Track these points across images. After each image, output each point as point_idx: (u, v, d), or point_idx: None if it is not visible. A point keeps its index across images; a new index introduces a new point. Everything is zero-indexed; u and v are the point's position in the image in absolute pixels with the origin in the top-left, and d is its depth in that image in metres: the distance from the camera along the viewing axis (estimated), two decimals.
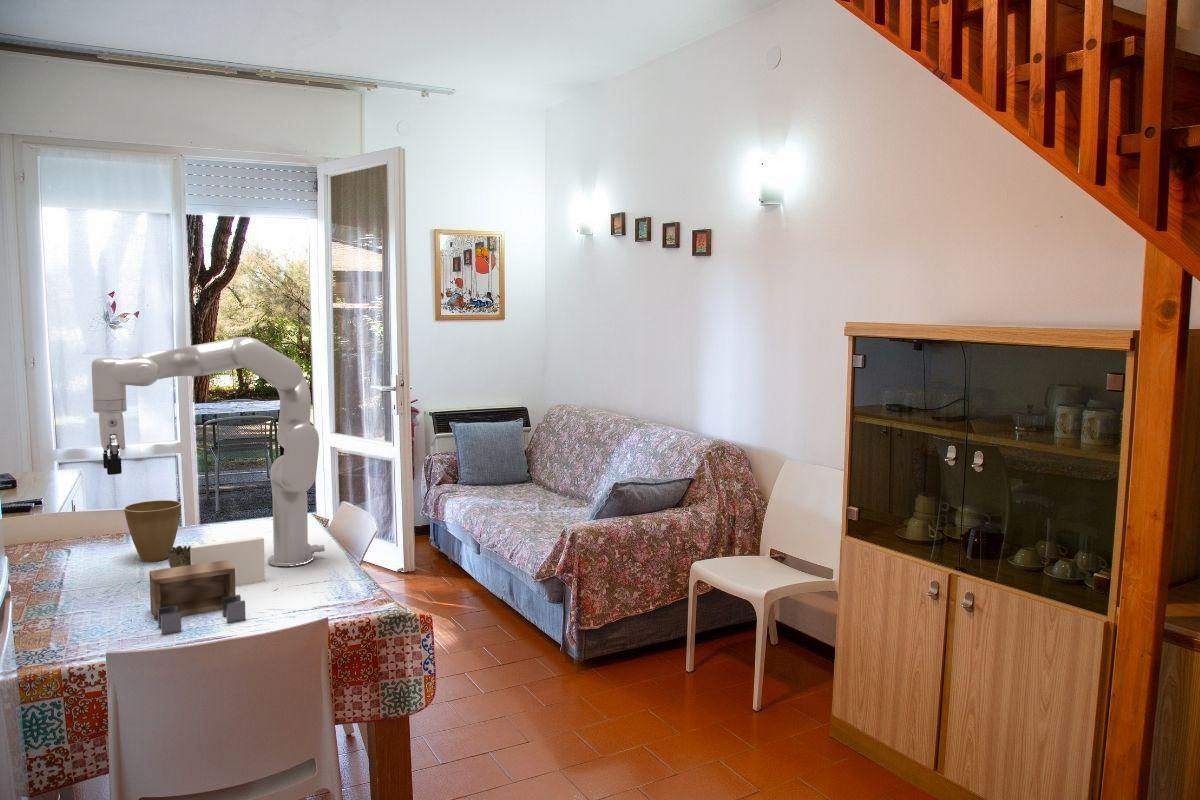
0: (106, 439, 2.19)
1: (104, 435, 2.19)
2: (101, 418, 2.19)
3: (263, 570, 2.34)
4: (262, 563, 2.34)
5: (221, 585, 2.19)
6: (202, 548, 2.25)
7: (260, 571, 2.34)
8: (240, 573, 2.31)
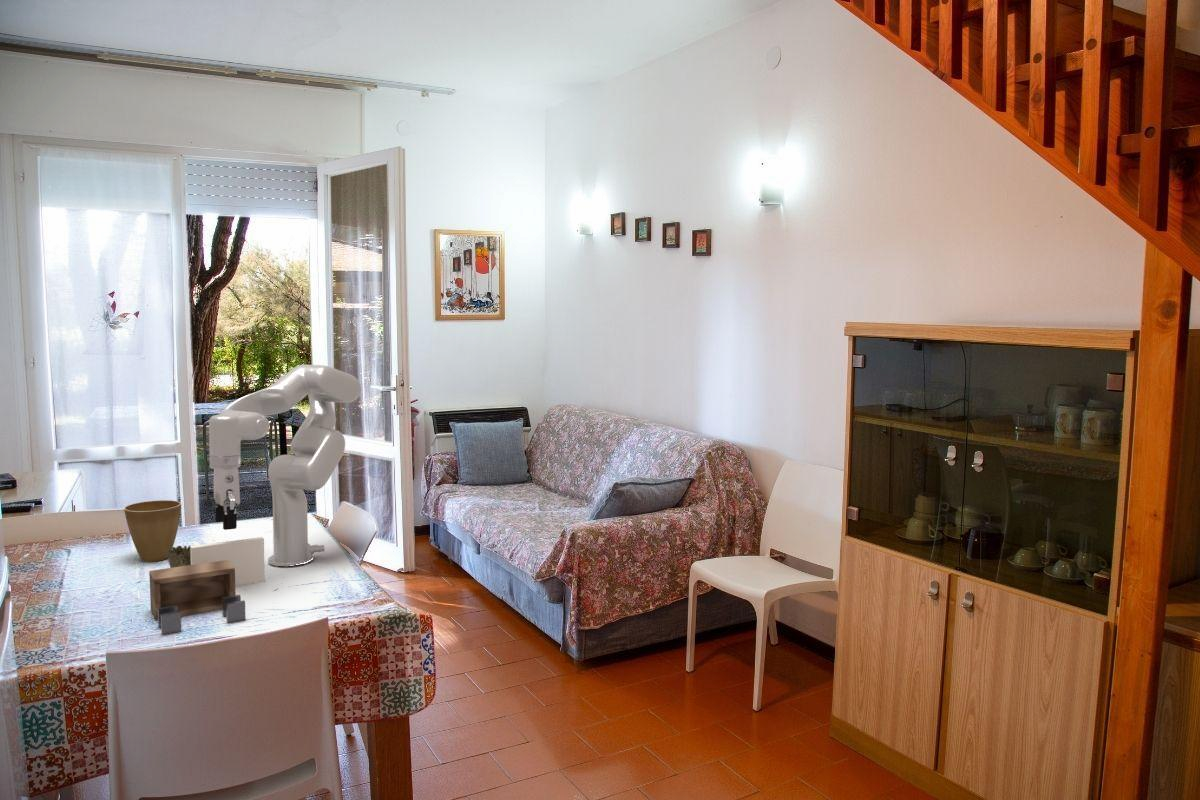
0: (223, 495, 2.23)
1: (221, 491, 2.23)
2: (218, 474, 2.23)
3: (263, 570, 2.34)
4: (262, 563, 2.34)
5: (221, 585, 2.19)
6: (202, 548, 2.25)
7: (260, 571, 2.34)
8: (240, 573, 2.31)
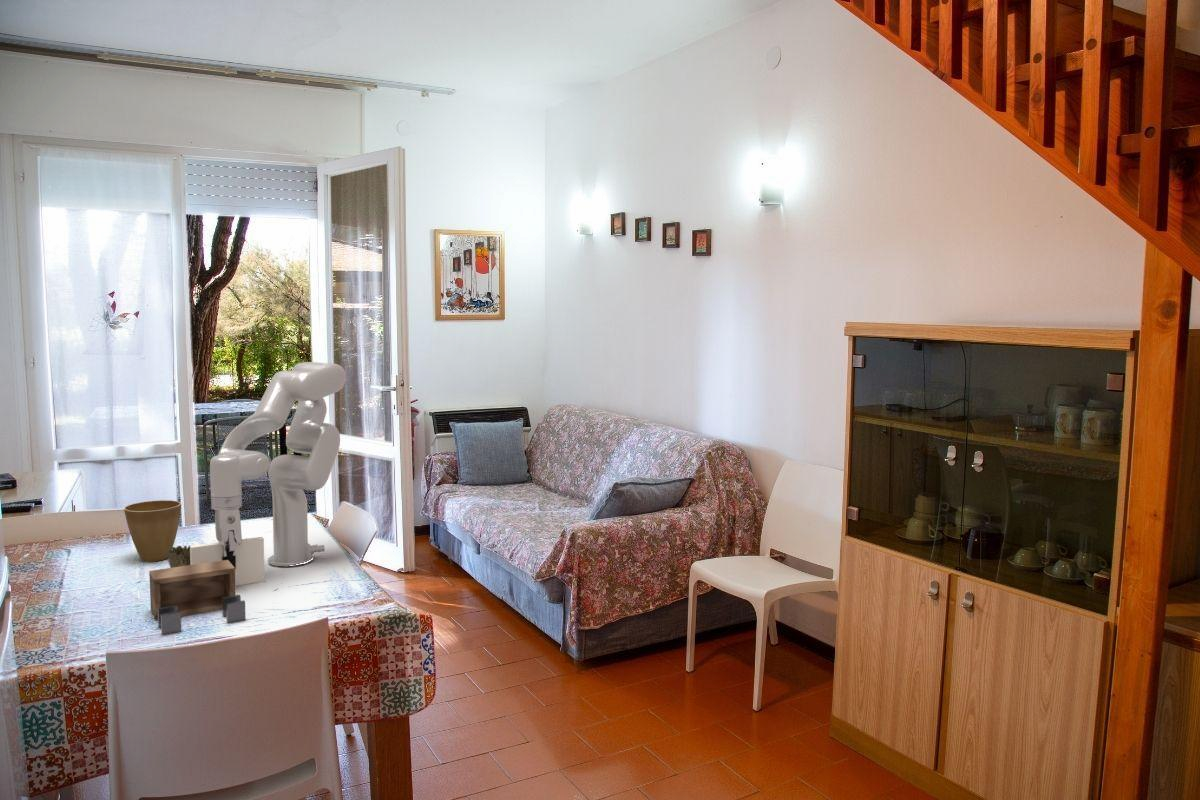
0: (225, 536, 2.24)
1: (223, 532, 2.24)
2: (220, 515, 2.25)
3: (263, 570, 2.34)
4: (262, 563, 2.34)
5: (221, 585, 2.19)
6: (202, 548, 2.25)
7: (260, 571, 2.34)
8: (239, 573, 2.31)
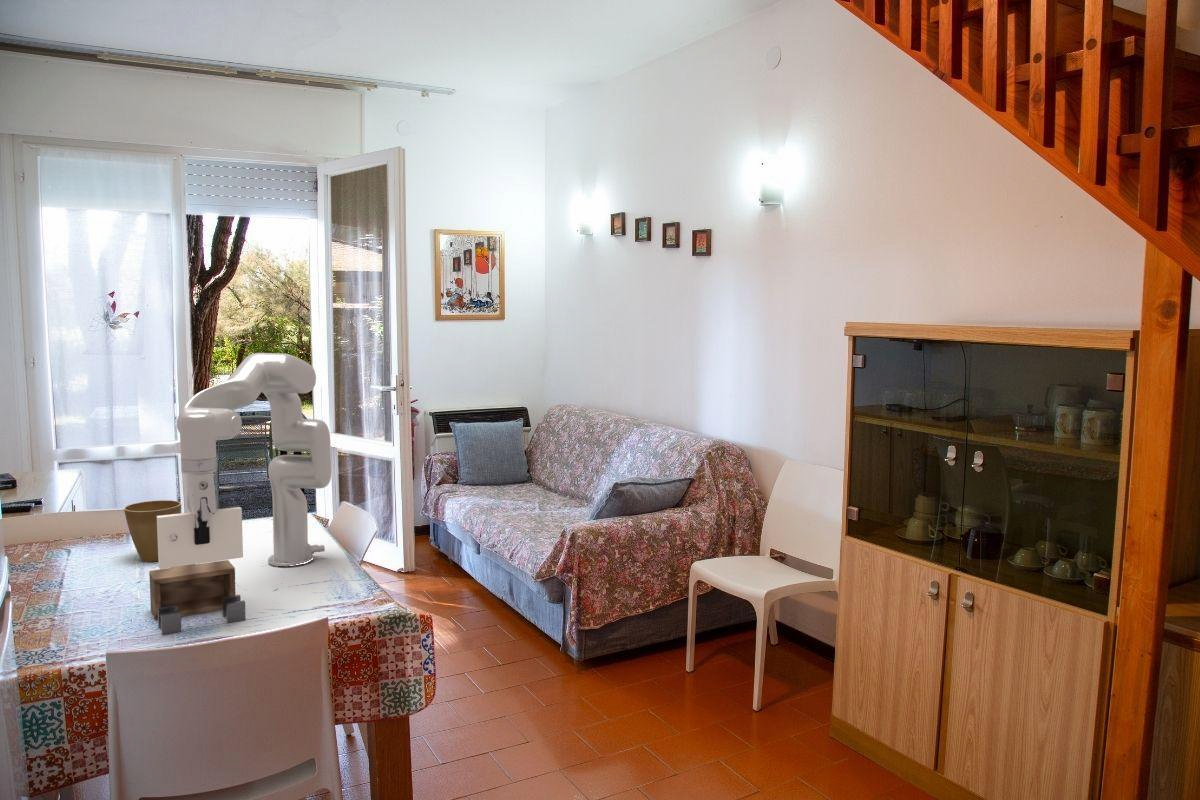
0: (196, 503, 1.97)
1: (194, 499, 1.96)
2: (191, 480, 1.97)
3: (241, 544, 2.07)
4: (240, 536, 2.06)
5: (221, 585, 2.19)
6: (170, 518, 1.97)
7: (237, 545, 2.06)
8: (214, 547, 2.03)
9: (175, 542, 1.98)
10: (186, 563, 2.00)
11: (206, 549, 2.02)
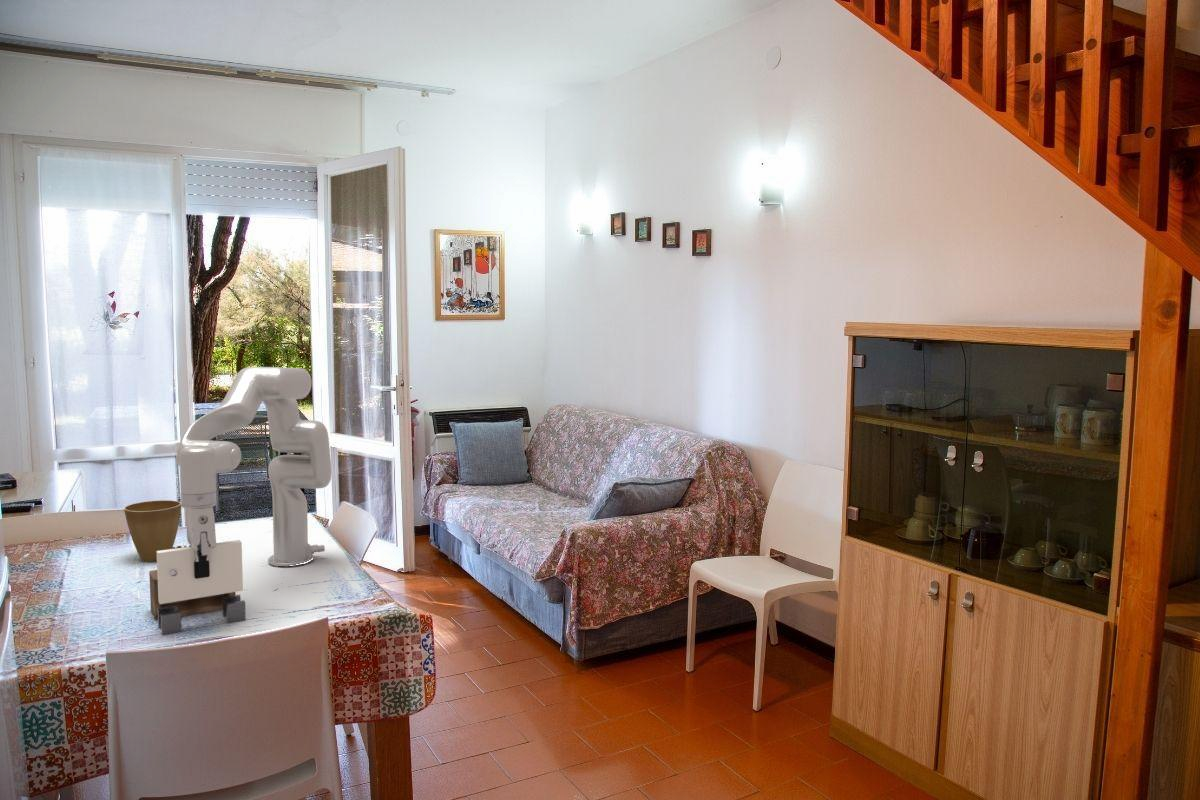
0: (196, 538, 1.96)
1: (194, 533, 1.96)
2: (190, 514, 1.97)
3: (241, 577, 2.07)
4: (240, 570, 2.06)
5: None
6: (170, 553, 1.97)
7: (237, 579, 2.06)
8: (214, 581, 2.03)
9: (175, 577, 1.98)
10: (186, 598, 2.00)
11: (206, 583, 2.02)
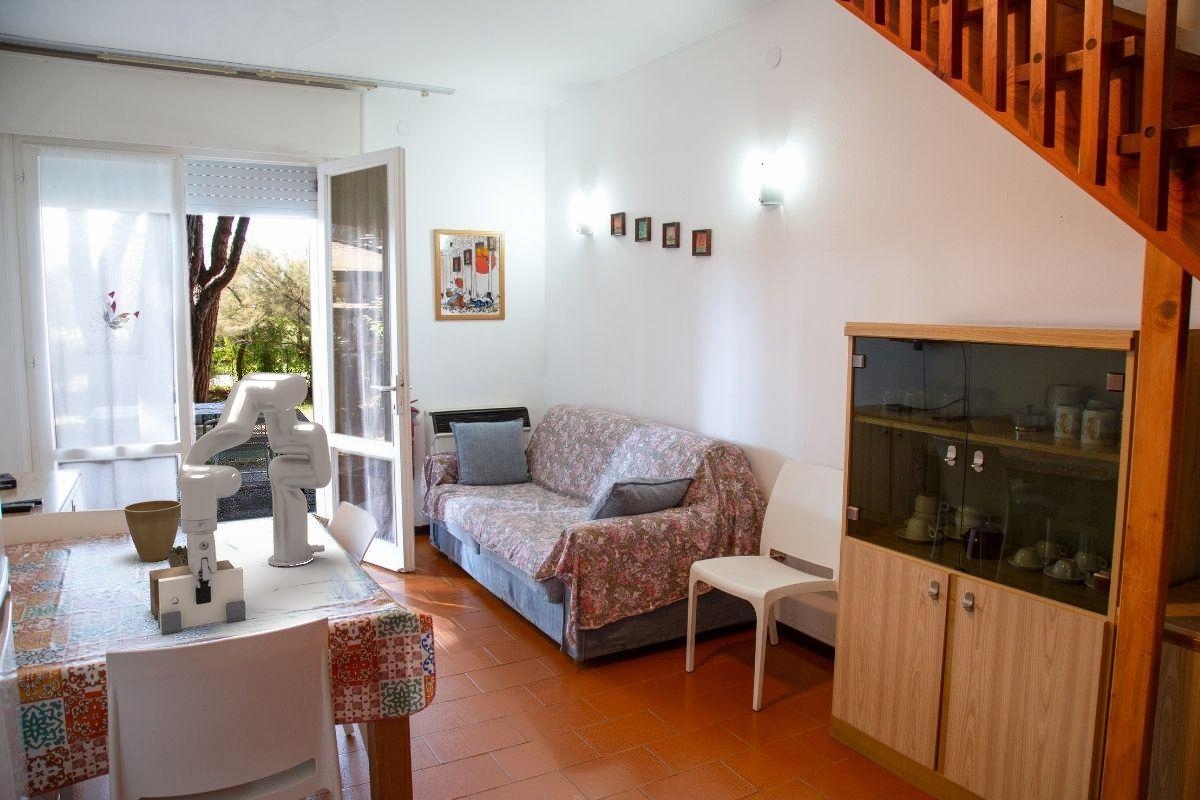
0: (197, 564, 1.97)
1: (195, 559, 1.97)
2: (191, 540, 1.98)
3: None
4: (241, 597, 2.07)
5: None
6: (172, 581, 1.98)
7: None
8: (215, 608, 2.04)
9: (177, 605, 1.99)
10: (187, 625, 2.01)
11: (208, 610, 2.03)
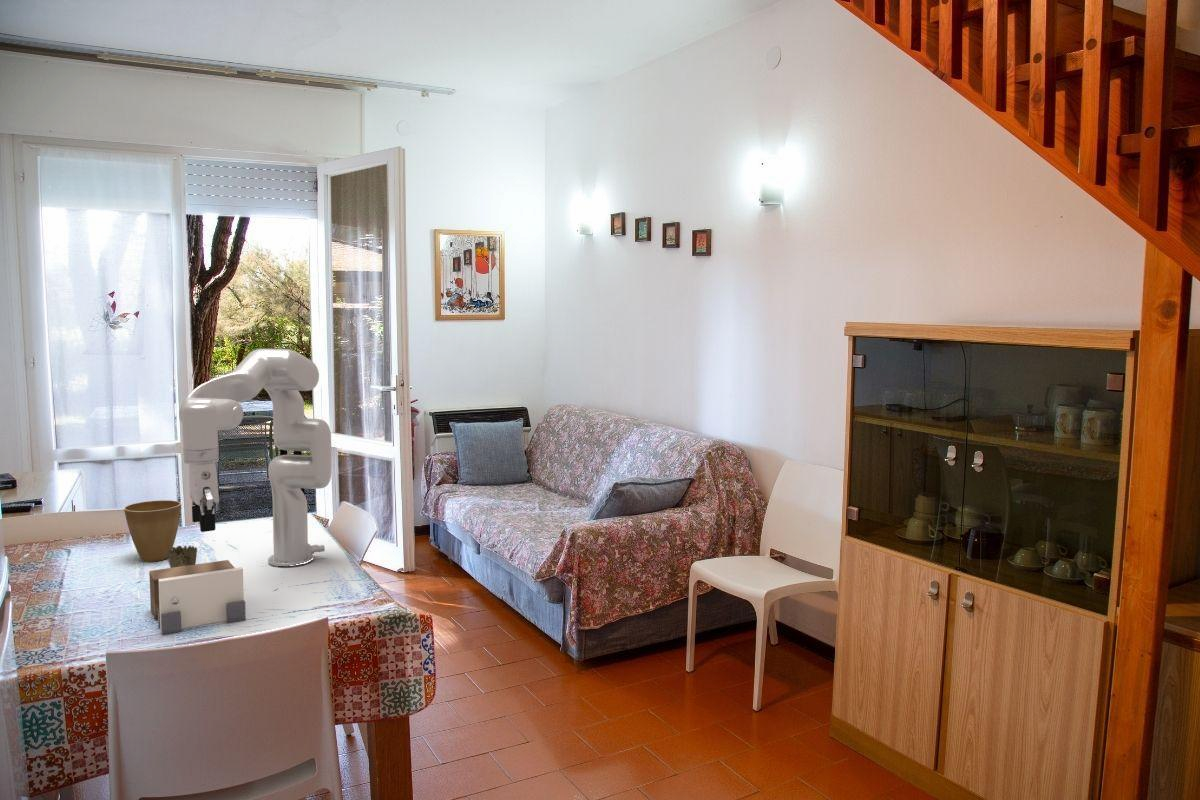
0: (199, 493, 1.99)
1: (197, 489, 1.99)
2: (193, 470, 1.99)
3: None
4: (241, 597, 2.07)
5: None
6: (172, 581, 1.98)
7: None
8: (215, 608, 2.04)
9: (177, 605, 1.99)
10: (187, 625, 2.01)
11: (207, 610, 2.03)
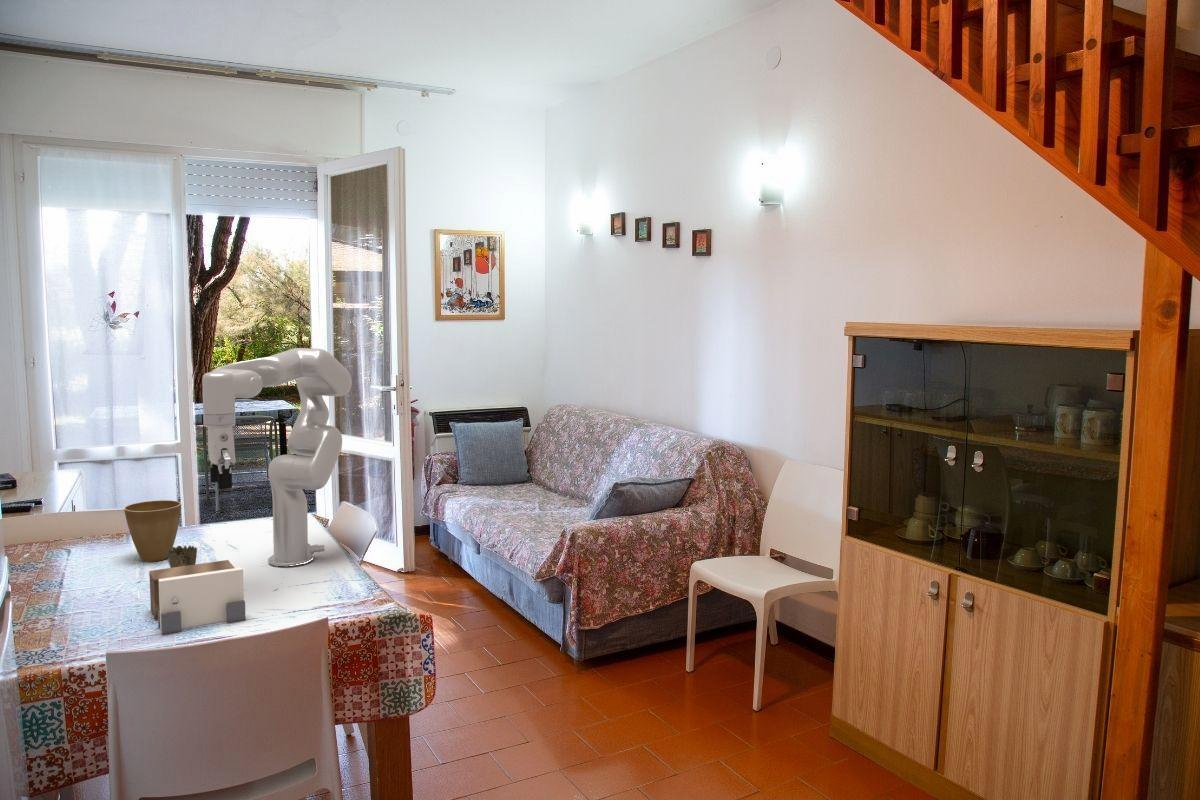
0: (218, 454, 2.17)
1: (216, 450, 2.17)
2: (212, 432, 2.18)
3: None
4: (241, 597, 2.07)
5: None
6: (172, 581, 1.98)
7: None
8: (215, 608, 2.04)
9: (177, 605, 1.99)
10: (187, 625, 2.01)
11: (207, 610, 2.03)
